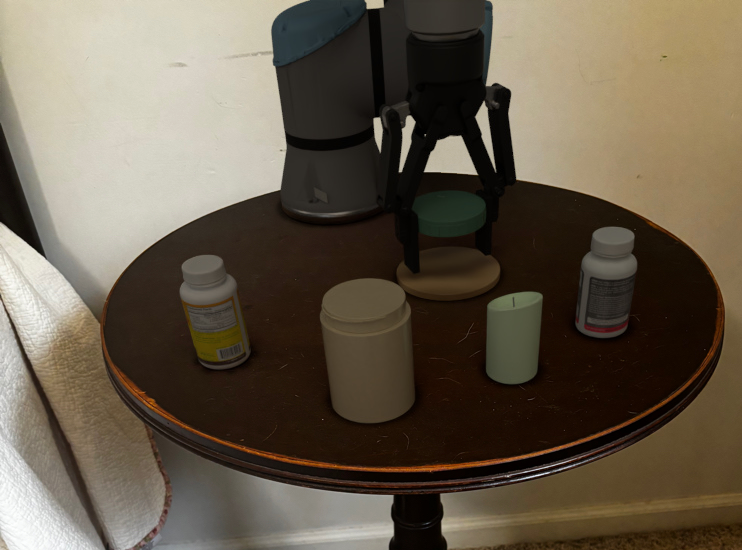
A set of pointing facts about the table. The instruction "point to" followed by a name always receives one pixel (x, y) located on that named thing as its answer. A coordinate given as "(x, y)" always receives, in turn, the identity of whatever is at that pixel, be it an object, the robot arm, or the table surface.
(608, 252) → the pill bottle
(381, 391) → the jar
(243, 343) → the supplement bottle
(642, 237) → the table surface
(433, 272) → the coaster
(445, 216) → the lid
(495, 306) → the candle
